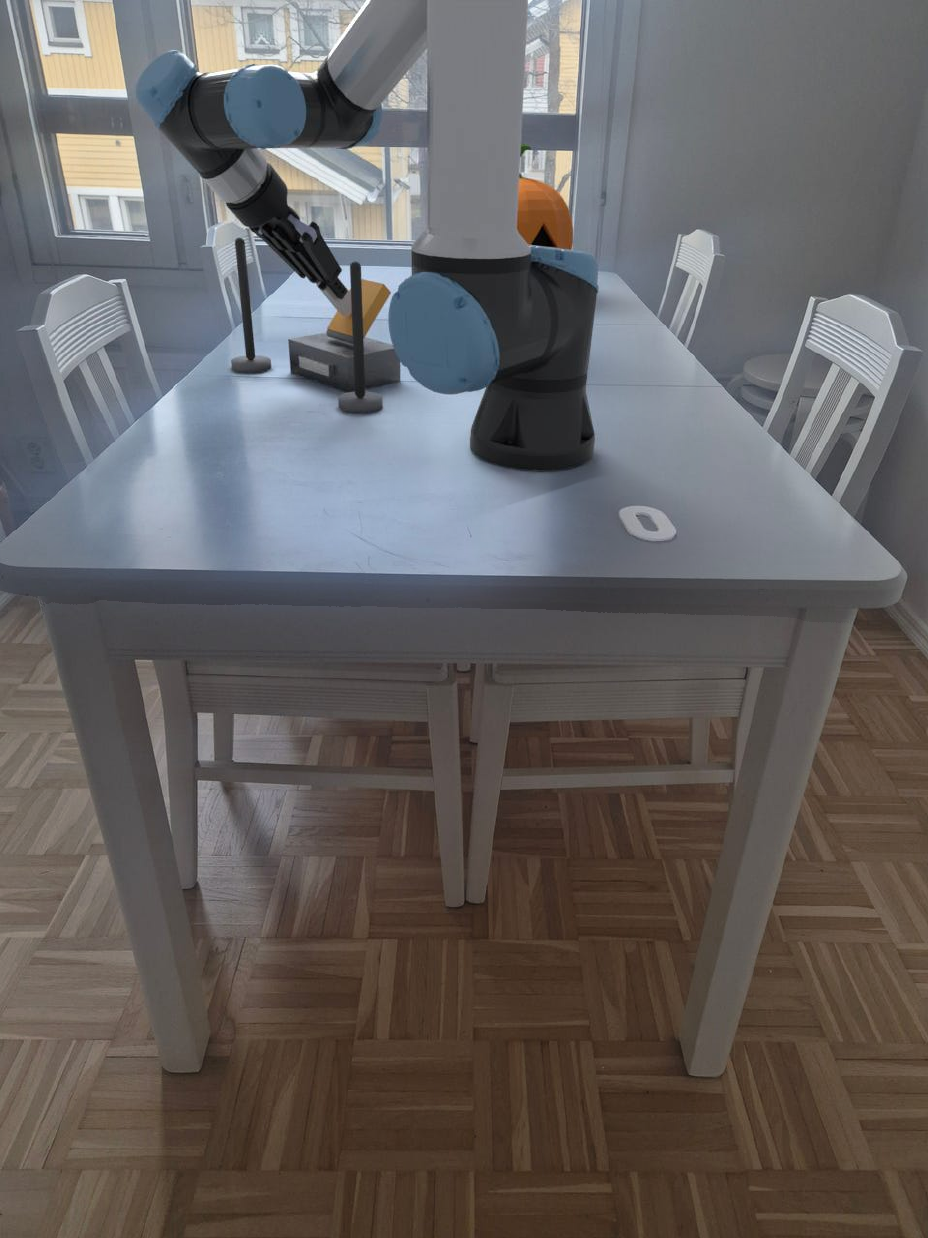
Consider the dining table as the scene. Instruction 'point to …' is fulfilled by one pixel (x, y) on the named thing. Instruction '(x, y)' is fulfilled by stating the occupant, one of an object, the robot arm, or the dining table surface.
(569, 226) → the jack-o'-lantern
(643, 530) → the chain link
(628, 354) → the dining table surface
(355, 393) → the stand
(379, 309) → the orange rectangular prism
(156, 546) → the dining table surface
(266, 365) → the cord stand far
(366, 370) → the block
